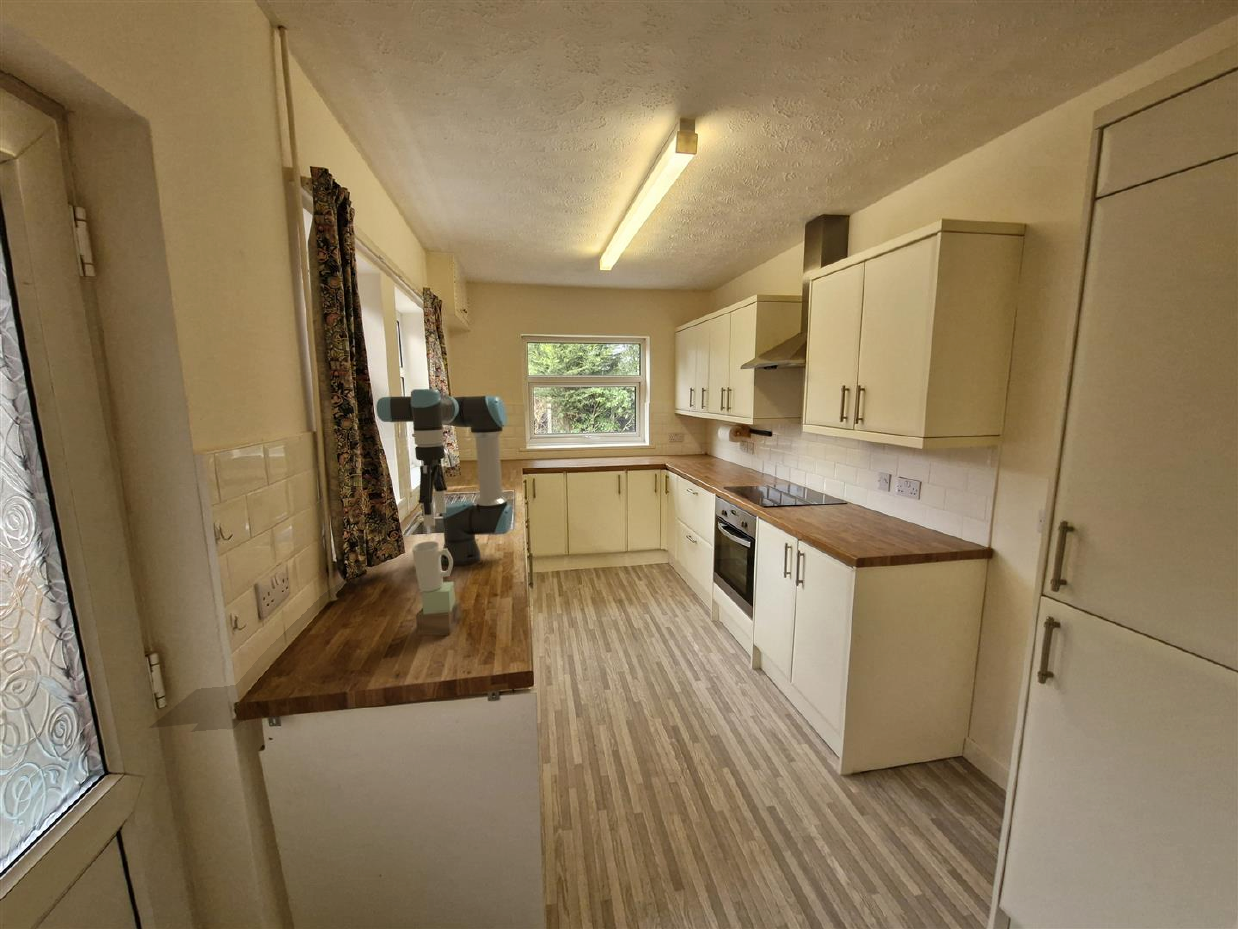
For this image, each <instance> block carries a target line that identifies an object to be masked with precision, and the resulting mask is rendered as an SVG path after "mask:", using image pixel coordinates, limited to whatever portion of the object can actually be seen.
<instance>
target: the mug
mask: <svg viewBox="0 0 1238 929" xmlns="http://www.w3.org/2000/svg"><path fill="white" fill-rule="evenodd" d="M411 550H412V555H413V556H412V558H413V562H414V568H415V572H416V578H417V584H418V589H419V591H420V592H423V591H424V592H429V591H434V590H437V589H439V588H441V587H442V585H443V582H444V579H443V578H445V577H450V575H451V573H452V569H453V567H454V566H453V559H452V556H451V554H450V553H449V551H448V549H447V548H446V549H443V548H442V549H440V543H439V542H437V541H433V540H432V541H431V540H429V541H423V542H420V543H417V544H415V545H413V546H412V547H411ZM441 555H445V556H446V557H447V558H448V560H449V566H447V567H448V568H447V570H443V568H442V563H441Z"/></svg>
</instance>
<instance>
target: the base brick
mask: <svg viewBox="0 0 1238 929" xmlns="http://www.w3.org/2000/svg"><path fill="white" fill-rule="evenodd" d="M462 612H463V611H462V601H461V600H455V603H454V605H453V608H452V610H451V612H447V613H435V614H423V607H422V608H421V609H420V610H419V611H418V612H417V613H416V614H415V620H416V622H415V623H416V633H417V636H451V634H452V633H453V632H454V631H455V630H456V628H457V627H458V625H459V624H460V623H461V622H462V620H463V616H462V615H463V613H462Z"/></svg>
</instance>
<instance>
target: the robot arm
mask: <svg viewBox="0 0 1238 929" xmlns="http://www.w3.org/2000/svg"><path fill="white" fill-rule="evenodd" d="M375 406H376V409H375V410H376V414H377V417H378V419H379V420H380V421H381V422H384V423H412V424H413V425H412V426H413V433H412V434H411V436H412V438H414V444H415V445H416V446H415V448H414V451H415V459H416V460H417V461H419V462H420V461H421V462H422V461H423V465H420V466H419V469H420V470H419V471H420V472H419V473H420V474H419V476H420V479H419V498H418V500H417V502H418V504H422V516H423V526H424V527H435V526H436V518H435V516H436V515H435V513H436V514H442V517H441V518H442V525H443V526H442V527H443V539H444V540H443V541H444V544H443V548H442V550H443V549H446V548H447V549H448V551H449V553H450V554H451V556H452V559H453V567H459V566H460V567H461V566H467V565H470V564H471V565H472V564H475V563H476V562H478V561H480V560H481V558H482V556H481V554H482V553H481V550H480V548H479V545H478V542H477V540H476V536H479V535H480V536H484V535H486V536H487V535H489V536H490V535H491V536H492V535H493V536H497V535H505V534H507V533H508V532H509V531H510V528H511V525H512V522H513V512H514V511H513V506H512V505H511V504H508V499H507V498H506V497H505V496H503V481H502V467H501V466H502V465H501V464H502V463H501V452H500V451H501V450H500V448H501V447H500V435H501V433H503V428H504V427H506V426H507V422H508V421H507V419H508V415H507V411H506V410H507V409H506V406H505V404H504V400H502V398H501V397H500V396H499V397H498V396H497V395H496V396H495V395H493V396H492V395H481V396H479V395H478V396H456V397H454V396H453V397H452V396H450V395H448V394H447V395H446V394H444V395H443V394H441V392H440V391H439V389H436V388H425V389H423V388H421V389H418V388H416V389H415V388H414V389H412V390H411V392H410V396H408V395H407V396H391V395H389V396H382V397H380V398H378V400H377V403H376V405H375ZM443 426H451V427H455V428H470V433H471V434H472V435H473V436H474V437H475V447H476V458H477V459H476V460H477V476H478V487H479V488H478V489H479V498H478V500H477V501H476V505H475V504H474V502H473V501H472V500H464V501H462V500H461V501H457V502H452V503H450V504H446V495H445V491H448V487H447V486H446V485H447V484H446V480H445V475H444V471H443V466H442V460H443V459H444V458H445V456H446V454H445V446H444V445H443V444H444V442H445V440H444V439H445V438H444V430H443ZM434 490H435V491H434ZM433 495H434V501H433ZM434 503H435V505H434ZM440 559H441V565H443V566H447V567H449V560H448V558H447V557H446V556H445V555H440Z"/></svg>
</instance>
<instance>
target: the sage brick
mask: <svg viewBox="0 0 1238 929" xmlns="http://www.w3.org/2000/svg"><path fill="white" fill-rule="evenodd" d="M421 592H422V593H421V600H422V608H423V614H435V613H447V612H451V610H452V608H453V605H454V603H455V601H456V593H455V582H454V581H443V585H442V587H441V588H439V589H437V590H434V591H429V592H424V591H421Z"/></svg>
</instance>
